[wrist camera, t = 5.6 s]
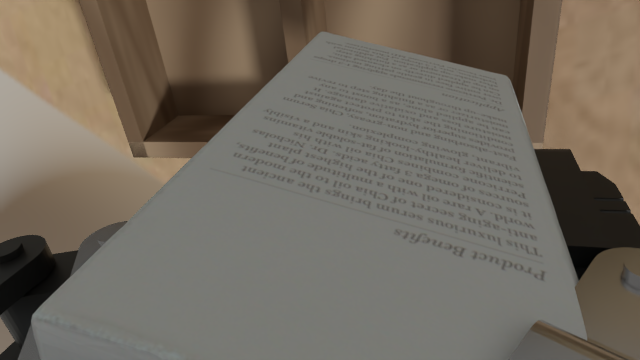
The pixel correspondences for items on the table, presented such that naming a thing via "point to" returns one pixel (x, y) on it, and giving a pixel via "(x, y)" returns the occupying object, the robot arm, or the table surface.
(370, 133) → the skincare box
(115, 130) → the table surface
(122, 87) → the slot rack
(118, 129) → the table surface
